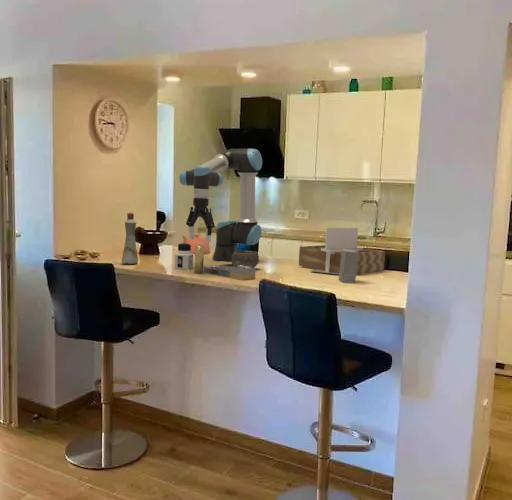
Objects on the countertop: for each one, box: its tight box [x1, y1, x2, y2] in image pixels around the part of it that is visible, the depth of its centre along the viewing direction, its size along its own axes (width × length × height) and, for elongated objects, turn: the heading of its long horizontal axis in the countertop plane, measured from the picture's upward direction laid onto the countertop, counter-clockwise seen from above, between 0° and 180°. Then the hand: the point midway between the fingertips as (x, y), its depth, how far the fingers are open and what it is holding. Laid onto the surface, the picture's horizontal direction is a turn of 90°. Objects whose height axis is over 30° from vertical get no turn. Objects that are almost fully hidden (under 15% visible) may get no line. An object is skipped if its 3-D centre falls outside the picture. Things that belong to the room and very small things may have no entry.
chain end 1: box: [203, 265, 231, 279], centre depth 286 cm, size 8×20×3 cm, turn 43°
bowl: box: [231, 250, 260, 268], centre depth 302 cm, size 14×15×10 cm
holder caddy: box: [298, 244, 386, 276], centre depth 317 cm, size 29×36×12 cm
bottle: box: [121, 211, 139, 265], centre depth 310 cm, size 9×9×28 cm
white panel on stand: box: [311, 227, 364, 276], centre depth 308 cm, size 28×21×23 cm
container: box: [174, 242, 194, 270], centre depth 301 cm, size 8×8×13 cm
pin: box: [194, 245, 205, 275], centre depth 285 cm, size 4×4×14 cm
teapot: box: [181, 233, 211, 255], centre depth 362 cm, size 25×17×13 cm
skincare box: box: [338, 249, 358, 284], centre depth 273 cm, size 8×7×16 cm
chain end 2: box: [218, 263, 256, 281], centre depth 278 cm, size 8×18×6 cm, turn 43°
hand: (199, 240), depth 284 cm, fingers open, 13 cm apart
